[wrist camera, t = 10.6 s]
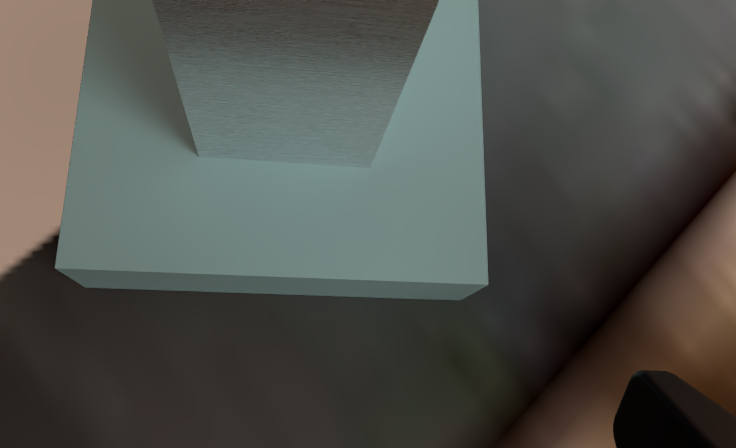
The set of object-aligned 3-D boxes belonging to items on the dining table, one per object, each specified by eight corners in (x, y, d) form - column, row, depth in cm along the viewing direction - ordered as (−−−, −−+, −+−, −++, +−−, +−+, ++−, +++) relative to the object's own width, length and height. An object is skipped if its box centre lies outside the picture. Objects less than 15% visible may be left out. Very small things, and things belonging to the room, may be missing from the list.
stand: (460, 300, 22) (488, 284, 19) (85, 287, 21) (54, 268, 18) (452, -11, 25) (475, -65, 22) (127, -43, 24) (107, -105, 21)
